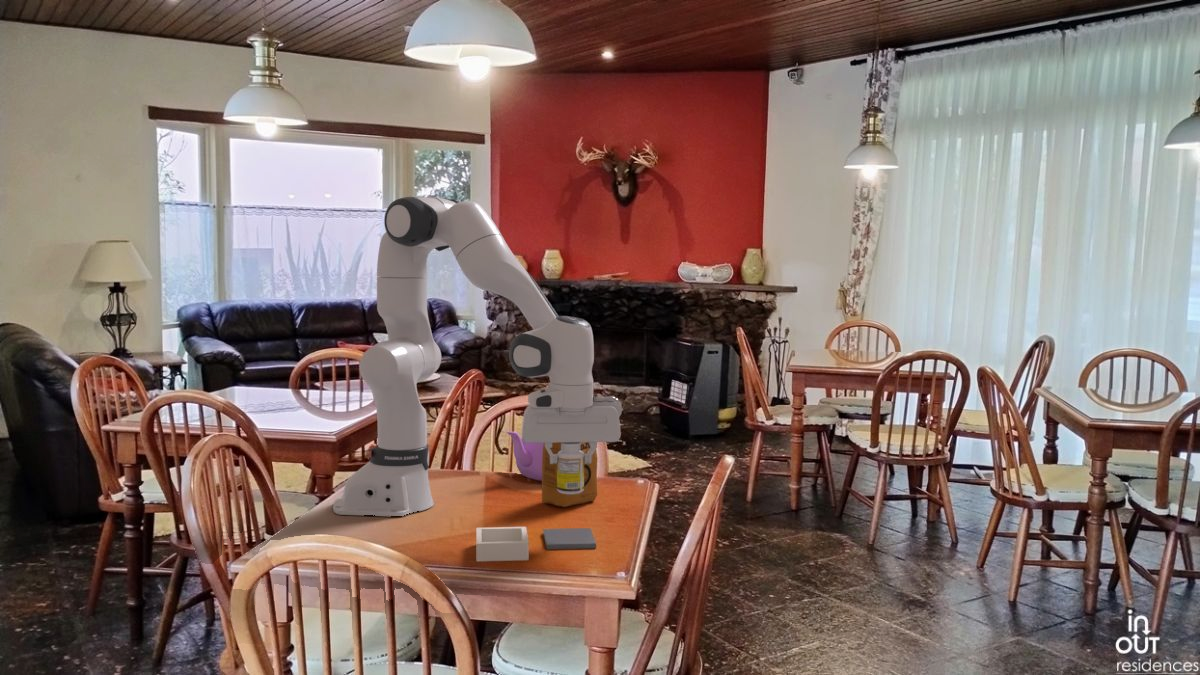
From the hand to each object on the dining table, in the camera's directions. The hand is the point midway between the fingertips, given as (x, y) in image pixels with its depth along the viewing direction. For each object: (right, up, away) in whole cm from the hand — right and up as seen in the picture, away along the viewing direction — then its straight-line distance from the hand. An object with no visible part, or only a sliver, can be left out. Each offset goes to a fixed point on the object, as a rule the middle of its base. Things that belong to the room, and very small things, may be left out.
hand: (570, 463), depth 185 cm
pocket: (-13, -17, -6) cm, 22 cm away
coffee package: (-1, -14, +30) cm, 33 cm away
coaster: (0, -16, +2) cm, 16 cm away
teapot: (-7, -11, +53) cm, 55 cm away
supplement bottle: (0, -6, +1) cm, 6 cm away
